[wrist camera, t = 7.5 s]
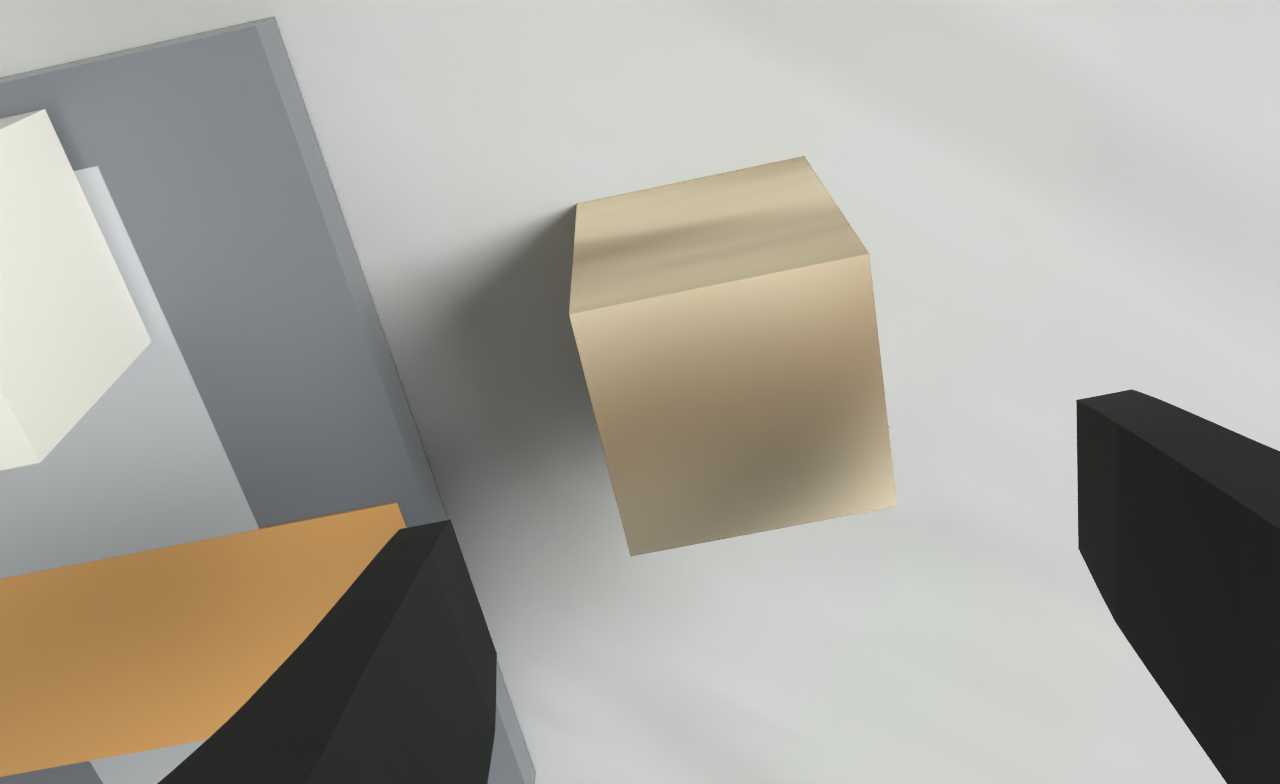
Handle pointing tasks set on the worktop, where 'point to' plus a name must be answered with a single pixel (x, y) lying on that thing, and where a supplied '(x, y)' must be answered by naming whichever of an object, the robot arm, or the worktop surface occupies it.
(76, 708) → the breaker panel
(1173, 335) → the worktop surface
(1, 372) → the cream white cube
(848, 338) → the block
